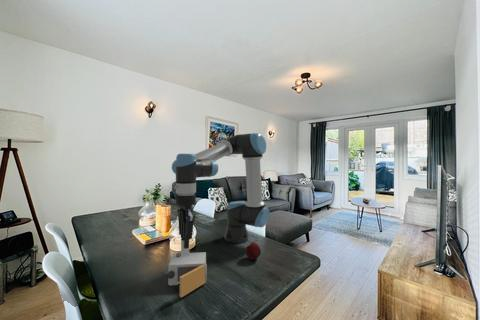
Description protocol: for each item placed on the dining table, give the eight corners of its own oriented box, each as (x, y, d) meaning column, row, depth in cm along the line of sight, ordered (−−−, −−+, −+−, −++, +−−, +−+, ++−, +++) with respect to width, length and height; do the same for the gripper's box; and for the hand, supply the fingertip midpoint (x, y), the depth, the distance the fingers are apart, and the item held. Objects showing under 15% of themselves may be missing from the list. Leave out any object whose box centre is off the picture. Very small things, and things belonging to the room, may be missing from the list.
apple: (252, 253, 108) (252, 238, 108) (264, 259, 102) (264, 243, 102) (242, 258, 103) (242, 242, 103) (254, 264, 97) (254, 247, 97)
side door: (205, 280, 82) (205, 263, 82) (207, 281, 81) (207, 264, 81) (179, 296, 73) (179, 276, 73) (181, 297, 72) (181, 277, 72)
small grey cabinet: (205, 269, 92) (205, 250, 92) (204, 285, 81) (204, 262, 81) (173, 271, 90) (173, 251, 90) (167, 287, 79) (167, 264, 79)
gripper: (171, 192, 82) (170, 251, 82) (181, 197, 71) (180, 265, 71) (189, 191, 86) (188, 247, 86) (201, 195, 75) (201, 260, 75)
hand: (185, 255), depth 78 cm, fingers closed
